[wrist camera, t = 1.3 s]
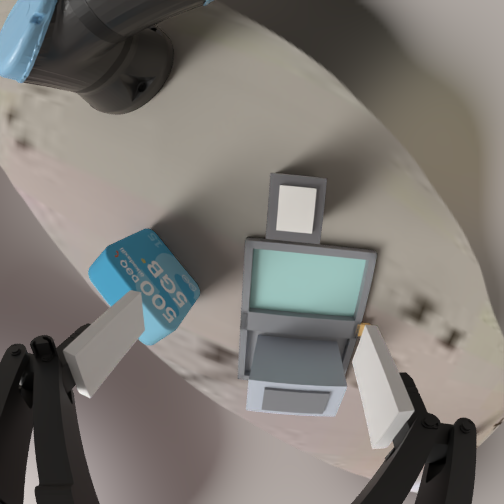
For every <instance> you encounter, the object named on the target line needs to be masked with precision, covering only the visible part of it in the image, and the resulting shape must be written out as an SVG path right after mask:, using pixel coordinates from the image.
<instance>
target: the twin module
mask: <svg viewBox="0 0 504 504" xmlns="http://www.w3.org/2000/svg"><path fill="white" fill-rule="evenodd" d="M346 388H347V383H346V378H345V374H344V369H343V365H342V360H341V356H340V352H339V347H338V343H337V342H336V341H320V340H306V339H294V338H284V337H274V336H265V335H258V337H257V342H256V347H255V352H254V356H253V361H252V366H251V371H250V376H249V381H248V393H247V405H246V410H249V411H257V412H266V413H276V414H288V415H303V416H335V415H336V413H337V411H338V408H339V406H340V403H341V401H342V399H343V396H344V394H345V391H346Z"/></svg>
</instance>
